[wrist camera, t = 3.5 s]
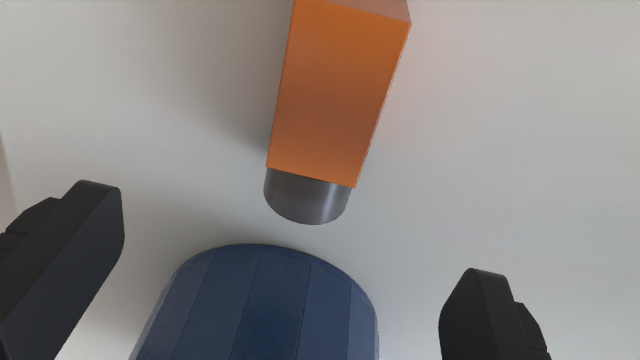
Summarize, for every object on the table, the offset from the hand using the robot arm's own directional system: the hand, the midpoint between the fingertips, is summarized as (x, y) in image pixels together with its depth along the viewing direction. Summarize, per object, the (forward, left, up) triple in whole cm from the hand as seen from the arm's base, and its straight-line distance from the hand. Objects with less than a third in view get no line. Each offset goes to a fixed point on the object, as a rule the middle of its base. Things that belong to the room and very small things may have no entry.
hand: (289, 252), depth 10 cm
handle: (0, 0, -8) cm, 8 cm away
